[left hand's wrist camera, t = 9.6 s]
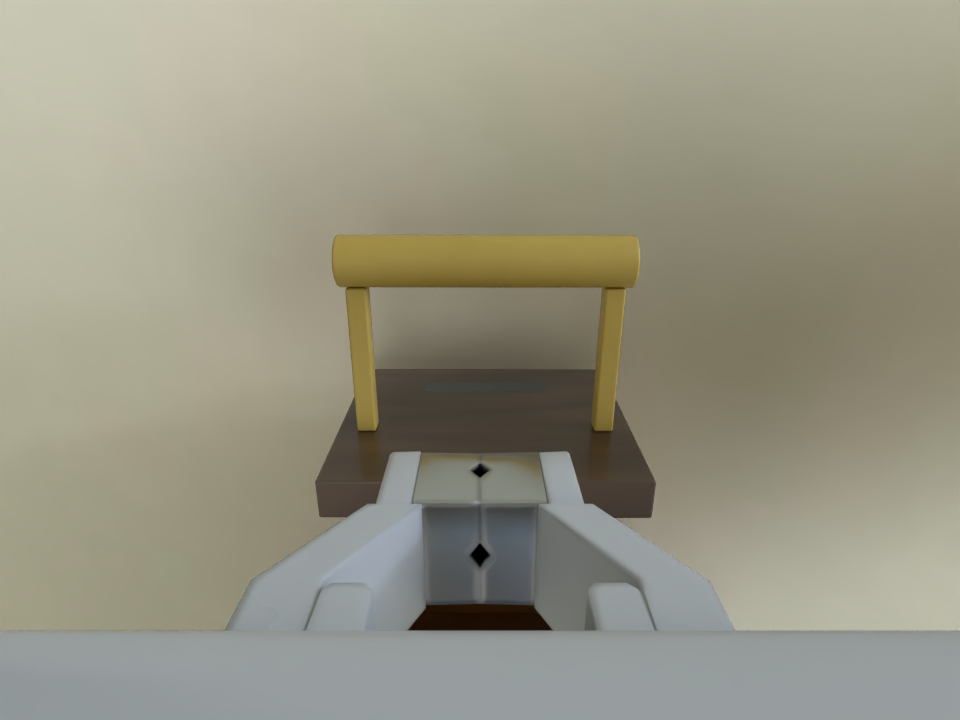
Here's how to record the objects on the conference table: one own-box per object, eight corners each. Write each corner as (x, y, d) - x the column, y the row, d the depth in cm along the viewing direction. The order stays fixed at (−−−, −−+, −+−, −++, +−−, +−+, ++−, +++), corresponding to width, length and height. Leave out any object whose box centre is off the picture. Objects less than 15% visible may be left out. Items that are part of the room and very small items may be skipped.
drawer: (354, 210, 21) (287, 259, 14) (615, 211, 21) (686, 258, 14) (385, 607, 28) (351, 779, 21) (581, 607, 28) (616, 779, 21)
